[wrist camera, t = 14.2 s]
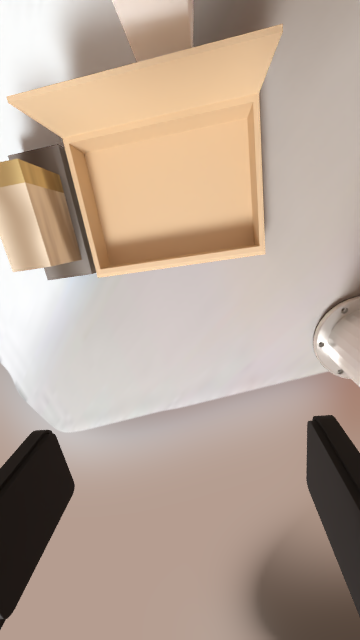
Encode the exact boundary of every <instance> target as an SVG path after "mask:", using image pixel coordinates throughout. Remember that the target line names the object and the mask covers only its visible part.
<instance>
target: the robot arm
mask: <svg viewBox="0 0 360 640" xmlns="http://www.w3.org/2000/svg"><path fill="white" fill-rule="evenodd" d="M342 308H343V309H342ZM341 309H342V310H341ZM313 346H314V352H315V354H316V357H317V359H318V360H319V362H320V363H321V364H322V365H323V366H324V367H325V368H326V369H327V370H328V371H329V372H331V373H332V374H335V375H337V376H339V377H343V378H347V379H352V380H353V381H354V382H355V383H356V384H357V385H358V386H359V387H360V296H358V297H354V298H351V299H348V300H346V301H344V302H341V303H340V304H338V305H337V306H335V307H334V308H332V309H331V310H330V311H329V312H328V313H327V314H326V315H325V316H324V317H323V318H322V320H321V321H320V323H319V325H318V326H317V328H316V331H315V335H314V341H313ZM307 485H308V489H309V491H310V494H311V497H312V499H313V501H314V504H315V506H316V509H317V511H318V514H319V516H320V519H321V521H322V524H323V526H324V529H325V531H326V534H327V536H328V539H329V541H330V544H331V546H332V549H333V551H334V554H335V556H336V559H337V561H338V564H339V566H340V569H341V571H342V574H343V576H344V579H345V581H346V584H347V586H348V588H349V591H350V594H351V596H352V599H353V601H354V603H355V606H356V609H357V611H358V614H359V616H360V453H359V451H358V450H357V449H356V447H355V446H354V444H353V443H352V441H351V440H350V439H349V437H348V436H347V434H346V433H345V431H344V430H343V428H342V427H341V426H340V424H339V423H338V421H337V420H336V419H335V417H334V416H332V415H326V416H314V417H313V420H312V421H308V425H307ZM73 491H74V481H73V479H72V476H71V474H70V471H69V468H68V466H67V463H66V461H65V458H64V455H63V453H62V450H61V448H60V445H59V443H58V440H57V437H56V435H55V434H53V433H52V431H50V430H37V431H33V432H32V433H31V434H30V435H29V436H28V437H27V438H26V440H25V441H24V442H23V443H22V444H21V445H20V446H19V448H18V449H17V450H16V451H15V452H14V454H13V455H12V456H11V457H10V458H9V459H8V460H7V462H6V463H5V464H4V465H3V466H2V467H1V468H0V629H1V627H2V625H3V623H4V622H5V620H6V619H7V618H8V617H9V616H10V615H11V614H12V613H13V611H14V609H15V607H16V605H17V603H18V601H19V599H20V597H21V595H22V593H23V591H24V590H25V587H26V586H27V584H28V582H29V580H30V577H31V576H32V573H33V572H34V570H35V567H36V566H37V564H38V562H39V560H40V558H41V556H42V554H43V552H44V550H45V548H46V546H47V544H48V542H49V540H50V538H51V536H52V534H53V532H54V530H55V528H56V526H57V524H58V522H59V520H60V518H61V516H62V514H63V512H64V510H65V508H66V507H67V504H68V503H69V501H70V499H71V497H72V495H73Z"/></svg>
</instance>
